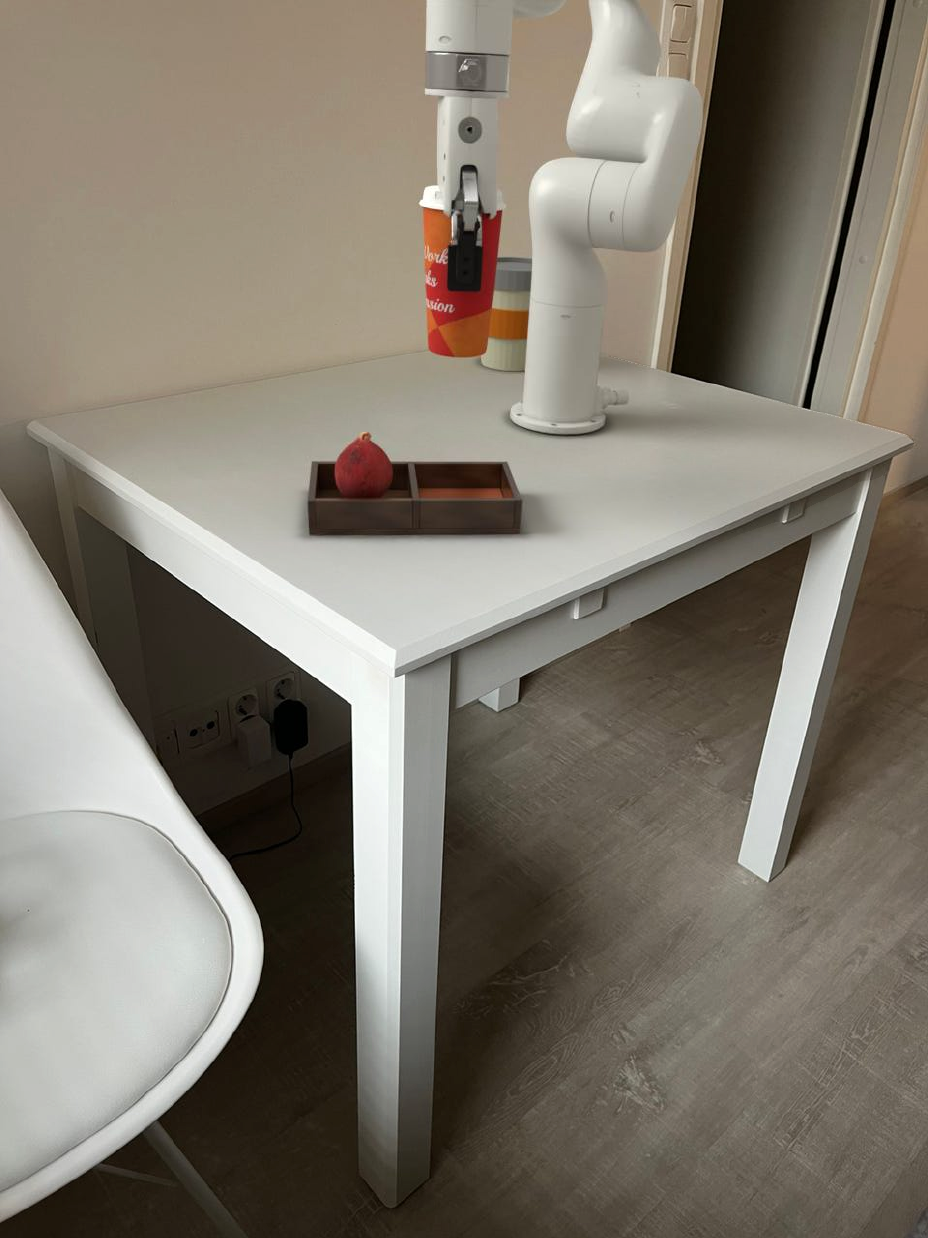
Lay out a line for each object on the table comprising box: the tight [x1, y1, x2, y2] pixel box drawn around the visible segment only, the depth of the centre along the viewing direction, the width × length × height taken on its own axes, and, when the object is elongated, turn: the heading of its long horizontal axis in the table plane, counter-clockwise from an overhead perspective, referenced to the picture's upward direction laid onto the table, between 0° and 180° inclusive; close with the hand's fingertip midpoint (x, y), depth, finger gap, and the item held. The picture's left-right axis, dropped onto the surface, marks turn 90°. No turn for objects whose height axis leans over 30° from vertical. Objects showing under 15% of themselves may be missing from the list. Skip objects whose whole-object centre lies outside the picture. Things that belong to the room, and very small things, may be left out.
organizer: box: [307, 460, 523, 536], centre depth 99 cm, size 21×11×4 cm, turn 96°
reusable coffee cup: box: [480, 256, 532, 372], centre depth 149 cm, size 13×13×15 cm
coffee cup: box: [419, 184, 507, 358], centre depth 94 cm, size 8×8×15 cm
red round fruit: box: [335, 430, 393, 498], centre depth 97 cm, size 6×6×8 cm
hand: (459, 280), depth 95 cm, fingers closed on coffee cup, 8 cm apart
